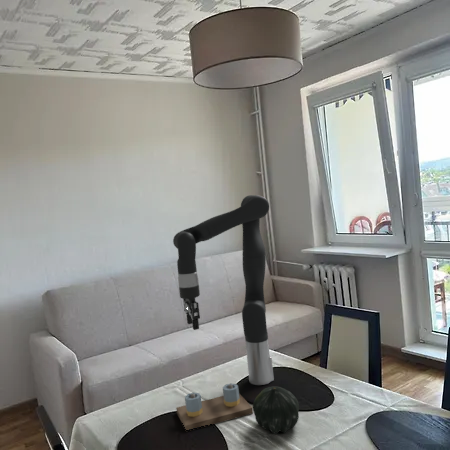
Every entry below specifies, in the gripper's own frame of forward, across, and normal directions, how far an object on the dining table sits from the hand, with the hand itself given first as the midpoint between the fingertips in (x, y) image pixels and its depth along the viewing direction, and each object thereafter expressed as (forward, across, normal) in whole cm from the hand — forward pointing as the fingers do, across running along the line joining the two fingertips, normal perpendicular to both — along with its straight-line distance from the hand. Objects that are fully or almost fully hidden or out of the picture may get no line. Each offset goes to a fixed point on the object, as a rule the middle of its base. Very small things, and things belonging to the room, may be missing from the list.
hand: (193, 326), depth 169 cm
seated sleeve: (+26, -14, -8) cm, 31 cm away
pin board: (+28, -14, -1) cm, 31 cm away
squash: (+28, -33, -17) cm, 47 cm away
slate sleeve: (+26, -14, +6) cm, 30 cm away
